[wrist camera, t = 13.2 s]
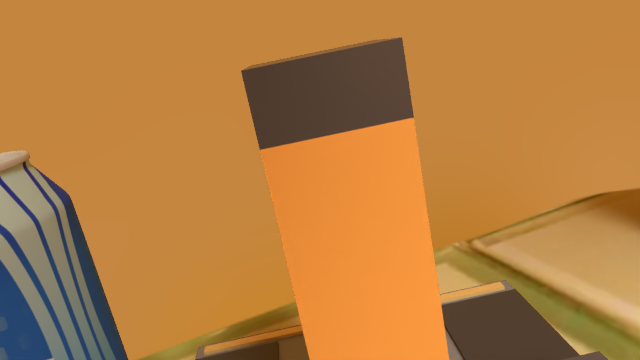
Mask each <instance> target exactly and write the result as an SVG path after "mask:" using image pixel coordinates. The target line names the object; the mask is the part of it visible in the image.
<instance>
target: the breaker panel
mask: <svg viewBox="0 0 640 360" xmlns="http://www.w3.org/2000/svg"><path fill="white" fill-rule="evenodd" d="M440 300H441V306H442V313H443V320H444V327H445V334H446V340H447V347H448V354H449V360H608V359H607V358H606V357H605V356H604V355H603V354H601V353H600V352H599V351H598V352H594V353H589V354H585V355H579V354H578V353H577V352H576V351H575V350H574V349H573V348H572V347H571V346H570V345H569V344H568V343H567V342H566V341H565V340H564V339H563V337H562V336H561V335H560V334H559V333H558V332H557V331H556V330H555V329H554V328H553V327H552V326H551V325H550V324H549V323H548V322H547V321H546V320H545V319H544V318H543V317H542V316H541V315H540V314H539V313H538V312H537V311H536V310H535V309H534V308H533V307H532V306H531V305H530V304H529V303H528V302H527V301H526V300H525V299H524V298H523V297H522V296H521V295H520V294H519V293H518V292H517V290H516V289H514V288H513V287H512V286H511V285H510V284H509V283H508V282H507V281H506V280H503V281H498V282H494V283H489V284H485V285H480V286H476V287H471V288H466V289H462V290H457V291H453V292H448V293H444V294H440ZM195 360H310V359H309V355H308V350H307V346H306V342H305V338H304V334H303V329H302V325H298V326H293V327H289V328H284V329H280V330H275V331H271V332H266V333H262V334H257V335H252V336H248V337H243V338H239V339H234V340H230V341H225V342H221V343H216V344H211V345H207V346H202V347H199V349H198V352H197V356H196V359H195Z"/></svg>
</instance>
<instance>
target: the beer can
mask: <svg viewBox="0 0 640 360" xmlns="http://www.w3.org/2000/svg"><path fill="white" fill-rule="evenodd" d="M29 158H30V155H29V153H28V152H27V151H13V152H6V153H0V360H48V359H53V358H54V360H128V358H127V355H126V352H125V349H124V346H123V344H122V341H121V338H120V335H119V332H118V330H117V327H116V324H115V321H114V318H113V316H112V313H111V310H110V307H109V304H108V301H107V299H106V296H105V293H104V290H103V287H102V284H101V282H100V279H99V276H98V273H97V270H96V268H95V265H94V262H93V259H92V256H91V253H90V251H89V248H88V245H87V242H86V240H85V237H84V234H83V231H82V228H81V225H80V223H79V220H78V217H77V214H76V211H75V208H74V206H73V203H72V200H71V198H70V196H69V195H68V194H67V193H66V192H65V191H64V190H63V189H62V188H61V187H59V186H58V185H57V184H55V183H54V182H53V181H52V180H50V179H49V178H48V177H46V176H45V175H44V174H43V173H41V172H40V171H39V170H38V169H36V168H35V167H34V166H32V165H31V164H30V163H29Z"/></svg>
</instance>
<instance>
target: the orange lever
mask: <svg viewBox="0 0 640 360" xmlns="http://www.w3.org/2000/svg"><path fill="white" fill-rule="evenodd" d="M402 42H403V41H402V38H392V39H382V40H374V41H368V42H363V43H358V44H353V45H349V46H343V47H339V48H334V49H329V50H324V51H320V52H315V53H310V54H305V55H300V56H296V57H291V58H286V59H281V60H276V61H271V62H267V63H261V64H257V65H252V66H249V67H247V68H246V69H244V70H242V71H241V72H242V76H243V81H244V84H245V89H246V93H247V97H248V102H249V106H250V110H251V114H252V119H253V123H254V127H255V131H256V135H257V140H258V144H259V148H260V152H261V156H262V160H263V165H264V169H265V173H266V177H267V182H268V186H269V190H270V194H271V198H272V203H273V207H274V211H275V215H276V220H277V224H278V228H279V232H280V237H281V241H282V245H283V249H284V253H285V258H286V262H287V266H288V270H289V274H290V279H291V283H292V287H293V291H294V296H295V300H296V304H297V308H298V312H299V317H300V321H301V325H302V329H303V334H304V338H305V342H306V346H307V350H308V355H309V359H310V360H449V354H448V347H447V340H446V334H445V327H444V320H443V313H442V306H441V300H440V293H439V286H438V279H437V272H436V266H435V259H434V252H433V246H432V239H431V232H430V225H429V219H428V211H427V205H426V198H425V191H424V184H423V177H422V171H421V164H420V157H419V151H418V143H417V137H416V130H415V123H414V116H413V110H412V104H411V96H410V89H409V82H408V75H407V70H406V62H405V55H404V49H403V43H402Z"/></svg>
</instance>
